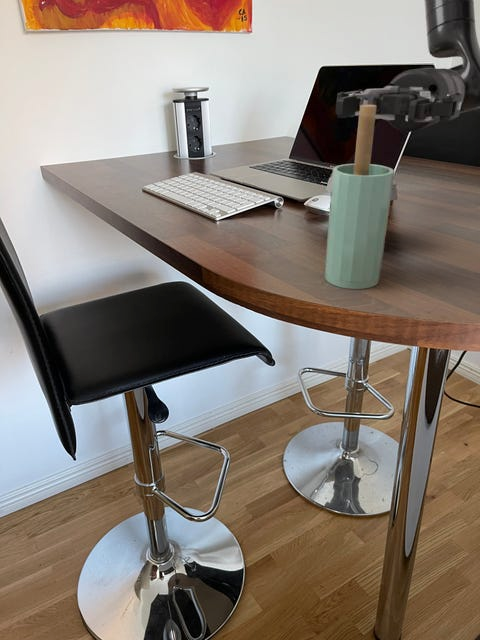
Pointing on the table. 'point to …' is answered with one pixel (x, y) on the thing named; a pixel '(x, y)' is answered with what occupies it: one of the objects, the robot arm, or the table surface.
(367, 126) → the brush
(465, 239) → the table surface
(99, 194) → the table surface
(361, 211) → the mint green pencil cup
